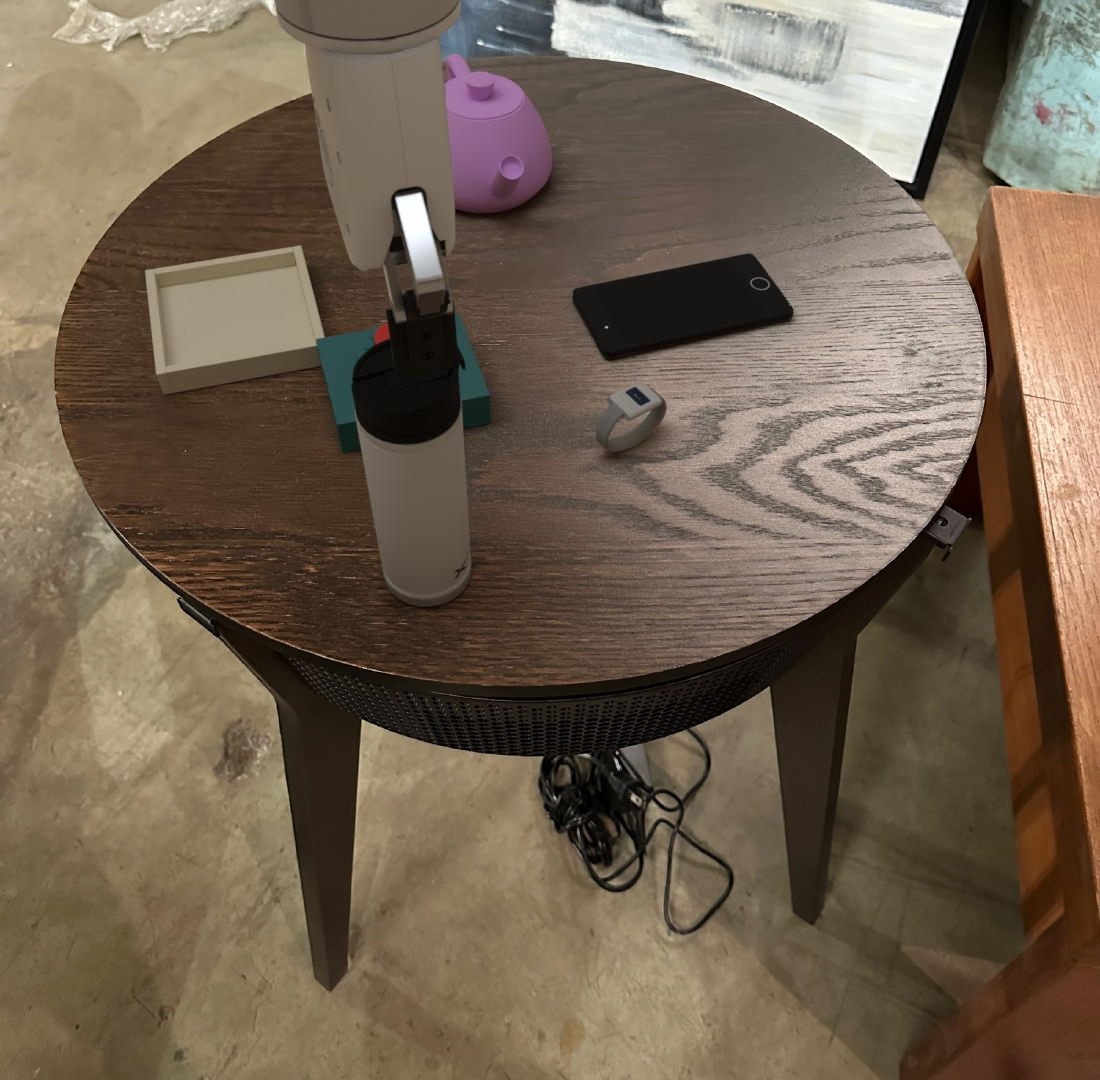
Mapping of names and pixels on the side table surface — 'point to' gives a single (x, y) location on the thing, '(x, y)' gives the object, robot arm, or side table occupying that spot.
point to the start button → (381, 334)
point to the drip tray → (232, 319)
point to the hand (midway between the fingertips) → (406, 307)
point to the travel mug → (415, 475)
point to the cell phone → (680, 305)
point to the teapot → (493, 140)
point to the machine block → (348, 348)
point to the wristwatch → (631, 416)
